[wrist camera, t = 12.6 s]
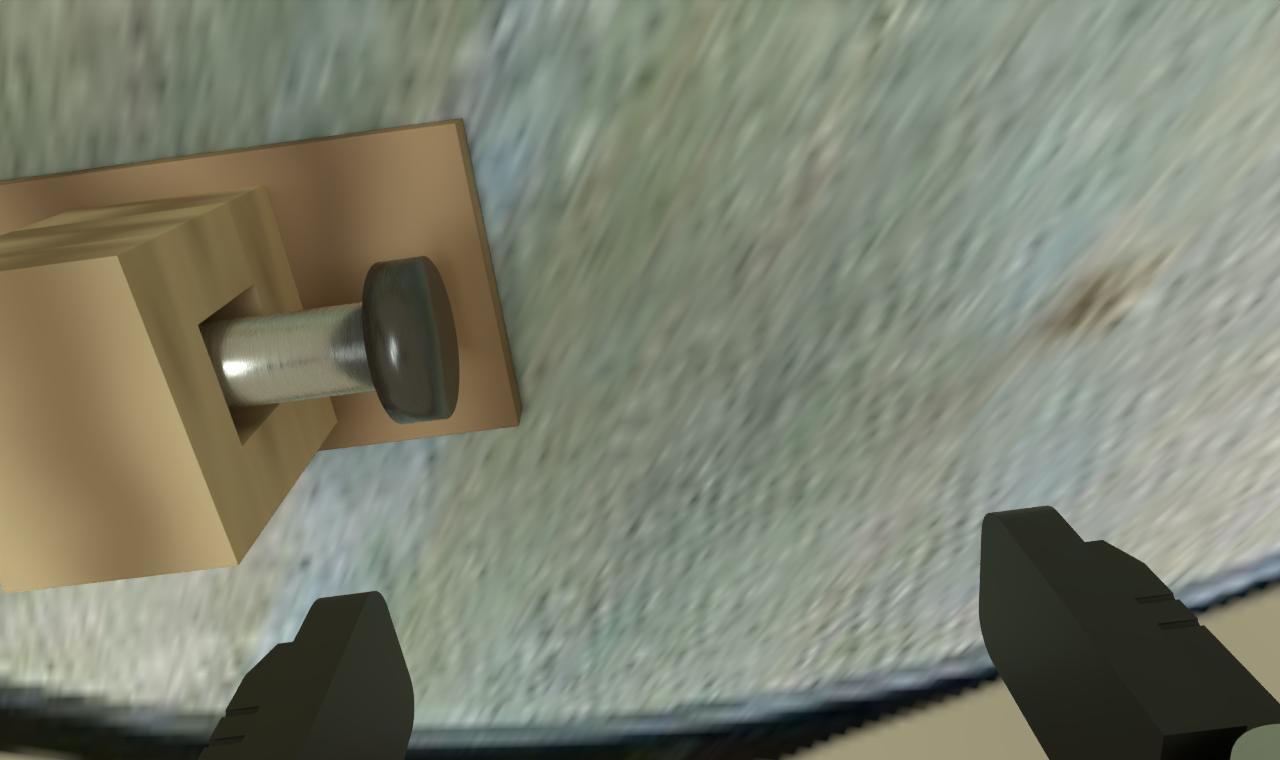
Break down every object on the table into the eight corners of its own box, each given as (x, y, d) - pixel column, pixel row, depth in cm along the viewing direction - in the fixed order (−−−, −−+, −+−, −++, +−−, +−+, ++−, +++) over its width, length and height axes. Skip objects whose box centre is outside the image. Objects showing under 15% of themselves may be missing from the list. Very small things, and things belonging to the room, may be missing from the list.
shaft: (62, 430, 26) (-41, 507, 22) (-1, 295, 24) (-126, 352, 20) (467, 379, 25) (438, 448, 21) (434, 237, 24) (396, 284, 20)
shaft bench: (-185, 498, 30) (-496, 686, 22) (-352, 229, 26) (-812, 331, 18) (522, 410, 29) (483, 569, 21) (462, 118, 25) (384, 170, 17)
